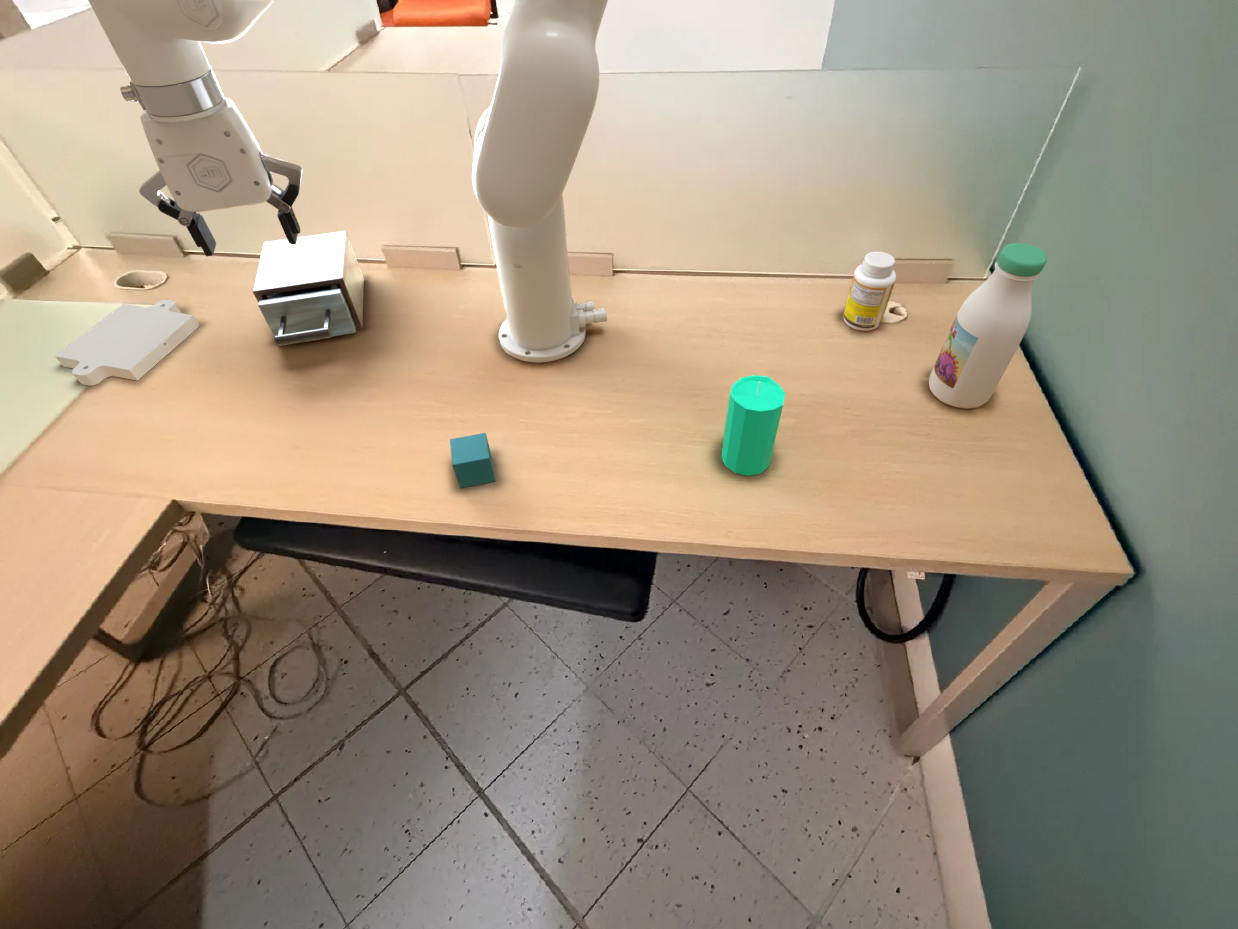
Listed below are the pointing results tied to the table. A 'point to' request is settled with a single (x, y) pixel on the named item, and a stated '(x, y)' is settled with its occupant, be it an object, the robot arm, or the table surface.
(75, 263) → the table surface
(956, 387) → the milk bottle
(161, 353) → the mounting plate
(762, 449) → the candle
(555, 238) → the robot arm
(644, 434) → the table surface
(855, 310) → the supplement bottle
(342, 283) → the cabinet
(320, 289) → the drawer
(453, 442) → the teal wooden cube
